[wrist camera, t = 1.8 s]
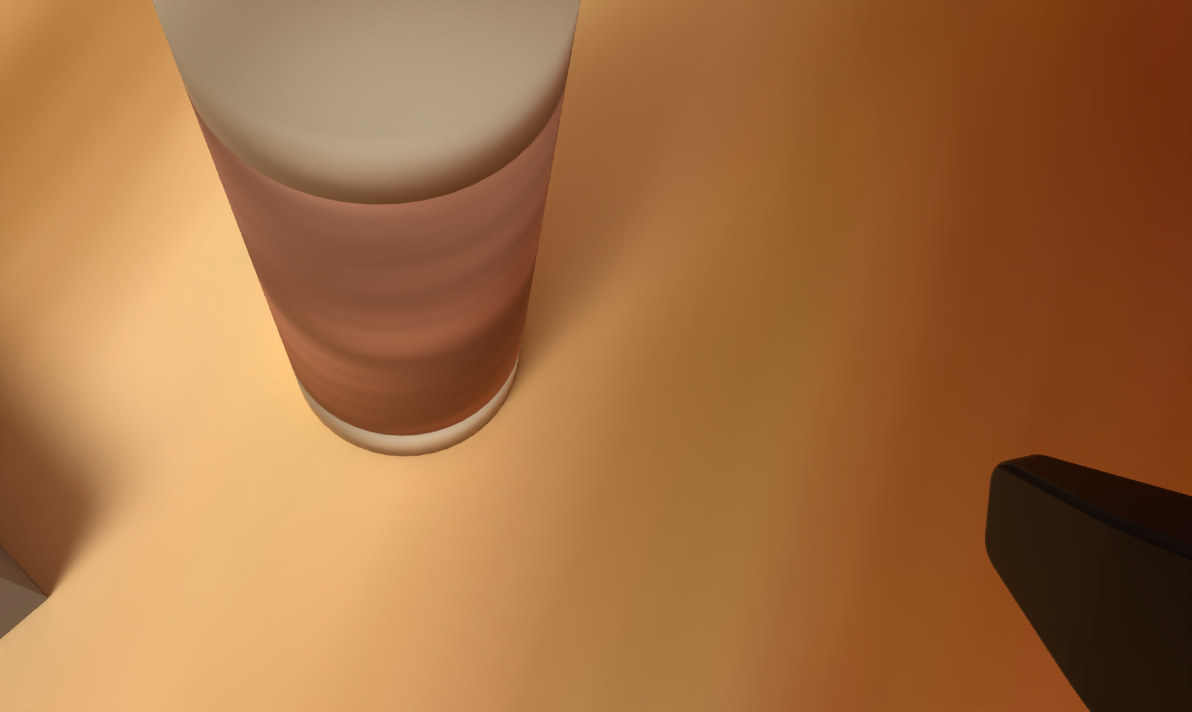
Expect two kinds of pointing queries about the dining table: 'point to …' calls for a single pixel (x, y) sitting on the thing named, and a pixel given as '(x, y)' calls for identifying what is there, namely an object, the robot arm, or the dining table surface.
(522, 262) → the bobbin
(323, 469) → the dining table surface
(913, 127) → the dining table surface
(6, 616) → the notched board
